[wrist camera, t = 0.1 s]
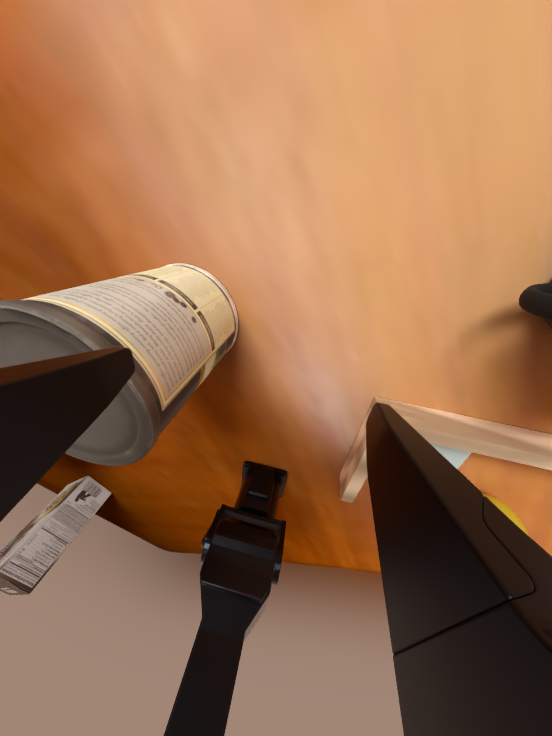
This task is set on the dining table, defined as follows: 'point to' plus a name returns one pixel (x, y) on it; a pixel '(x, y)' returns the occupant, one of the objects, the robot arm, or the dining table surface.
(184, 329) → the coffee can
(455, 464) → the pad
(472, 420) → the beige l-shaped bar
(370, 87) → the dining table surface
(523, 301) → the mug
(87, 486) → the coffee box
